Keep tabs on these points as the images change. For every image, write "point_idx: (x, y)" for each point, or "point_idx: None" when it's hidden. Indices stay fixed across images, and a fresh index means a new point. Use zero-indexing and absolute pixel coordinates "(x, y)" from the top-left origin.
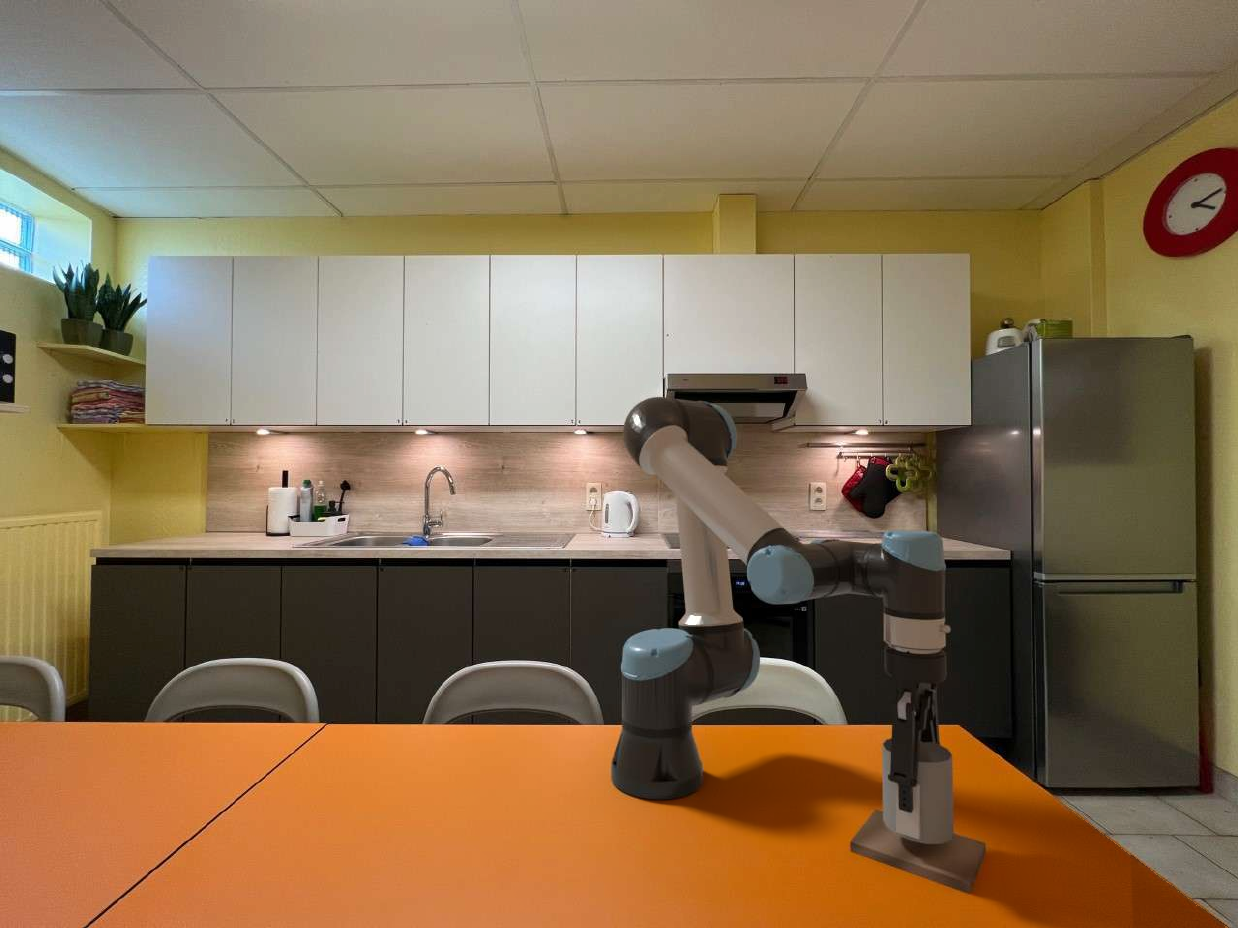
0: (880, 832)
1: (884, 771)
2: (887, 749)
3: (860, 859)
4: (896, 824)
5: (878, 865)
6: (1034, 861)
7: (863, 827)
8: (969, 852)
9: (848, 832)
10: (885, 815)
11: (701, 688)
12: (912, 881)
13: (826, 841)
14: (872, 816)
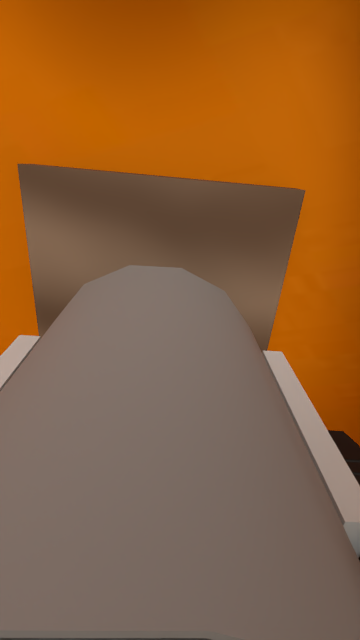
0: (145, 240)
1: (13, 406)
2: (205, 490)
3: (10, 204)
4: (8, 349)
5: (20, 255)
6: None
7: (144, 181)
8: None
9: (141, 125)
10: (82, 293)
11: None
12: (15, 334)
13: (27, 63)
14: (241, 192)
